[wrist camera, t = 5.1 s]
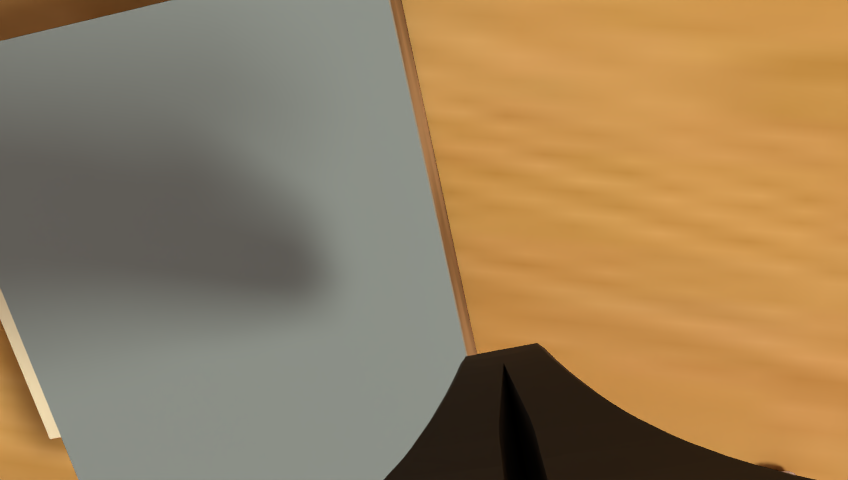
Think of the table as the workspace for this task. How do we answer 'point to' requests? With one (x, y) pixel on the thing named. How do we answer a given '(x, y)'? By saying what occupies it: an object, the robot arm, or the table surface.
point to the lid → (223, 242)
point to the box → (433, 173)
